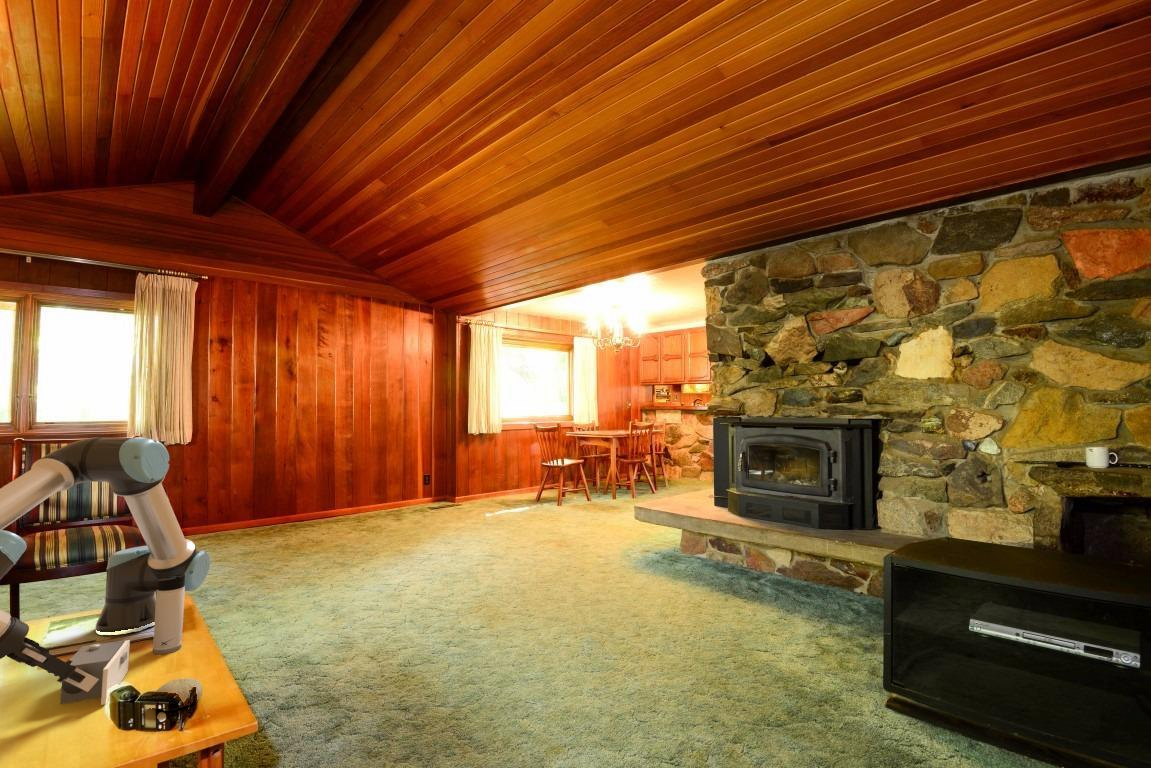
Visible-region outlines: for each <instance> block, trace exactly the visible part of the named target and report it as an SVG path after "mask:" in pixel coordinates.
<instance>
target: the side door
mask: <svg viewBox="0 0 1151 768" xmlns="http://www.w3.org/2000/svg"><path fill="white" fill-rule="evenodd" d="M130 640H131V639H127V640H124V643H123V645H122V646H121V647H120V649H119V650H118V651H117V653H116V654H115V655H114V656H113V658H112V659H111V660H110V662H109V663H108V664H107V665H106V667H105V668H104V669H103V682H102V697H100V698H101V699H100V700H101V701H100V705H101V706H102V705H107V703H106V699H107V690H108V689H109V688H111V687H112V686H114V685H116V684H119V683H120V684H121V682H122V681H123V679H124V678H125V676H126V675H127V673H128V672H129V661H130V660H129V659H130V646H131V645H130V644H131V641H130ZM120 684H119V685H120Z"/></svg>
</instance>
